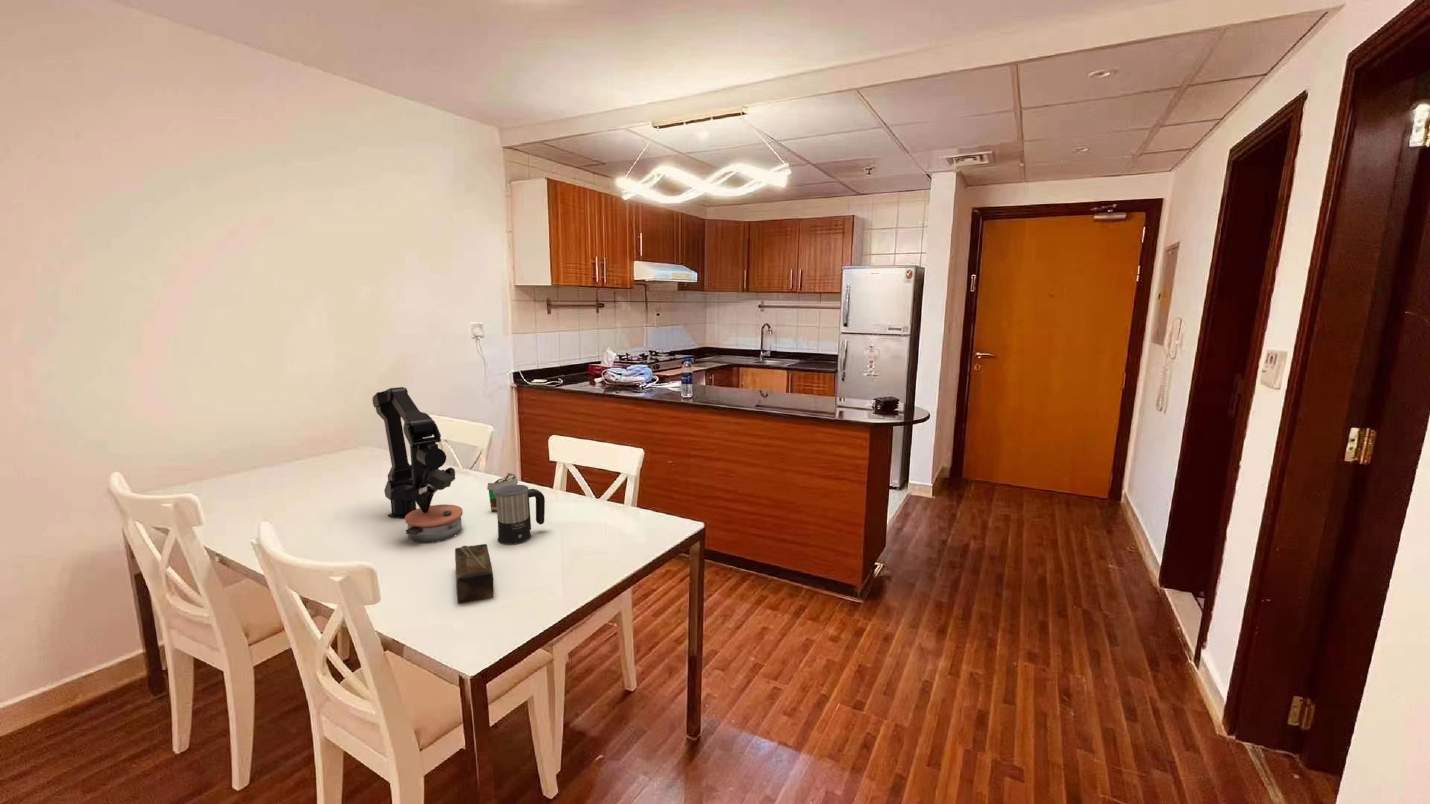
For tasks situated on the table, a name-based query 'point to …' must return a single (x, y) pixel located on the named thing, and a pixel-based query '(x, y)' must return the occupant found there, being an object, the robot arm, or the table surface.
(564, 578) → the table surface
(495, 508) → the food container
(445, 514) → the lid
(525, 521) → the milk frother
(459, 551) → the beverage carton
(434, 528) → the pot
